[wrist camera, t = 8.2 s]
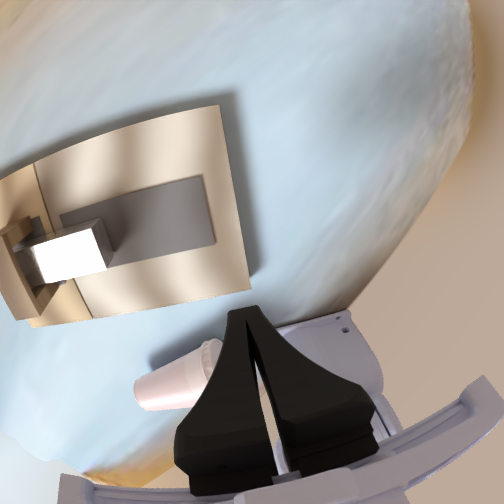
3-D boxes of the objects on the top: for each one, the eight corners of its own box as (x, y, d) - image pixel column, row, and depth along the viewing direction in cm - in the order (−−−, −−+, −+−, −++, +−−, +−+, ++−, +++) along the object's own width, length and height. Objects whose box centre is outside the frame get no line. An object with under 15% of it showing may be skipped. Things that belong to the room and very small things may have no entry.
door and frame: (217, 105, 18) (223, 98, 13) (248, 279, 24) (261, 321, 19) (-17, 190, 16) (-55, 211, 11) (37, 318, 22) (16, 355, 17)
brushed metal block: (101, 216, 18) (91, 228, 16) (114, 255, 19) (106, 269, 17) (15, 244, 17) (2, 256, 15) (29, 276, 18) (18, 290, 16)
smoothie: (170, 404, 28) (285, 367, 27) (149, 434, 22) (286, 399, 20) (143, 357, 28) (258, 312, 27) (114, 380, 22) (253, 332, 20)
